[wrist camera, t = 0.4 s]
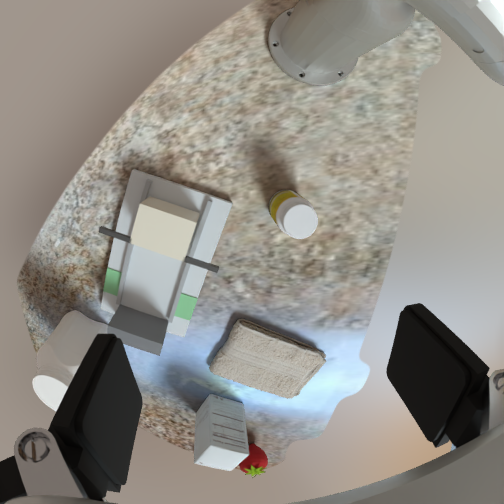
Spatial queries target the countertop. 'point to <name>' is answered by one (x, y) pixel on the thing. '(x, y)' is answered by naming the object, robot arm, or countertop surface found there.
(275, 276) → the countertop surface
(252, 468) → the strawberry
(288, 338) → the washcloth
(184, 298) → the board
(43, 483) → the robot arm
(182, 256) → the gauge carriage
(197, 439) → the supplement box
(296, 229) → the supplement bottle
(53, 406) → the jar
